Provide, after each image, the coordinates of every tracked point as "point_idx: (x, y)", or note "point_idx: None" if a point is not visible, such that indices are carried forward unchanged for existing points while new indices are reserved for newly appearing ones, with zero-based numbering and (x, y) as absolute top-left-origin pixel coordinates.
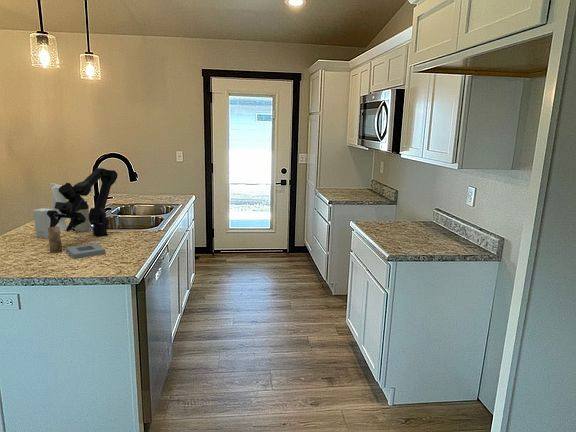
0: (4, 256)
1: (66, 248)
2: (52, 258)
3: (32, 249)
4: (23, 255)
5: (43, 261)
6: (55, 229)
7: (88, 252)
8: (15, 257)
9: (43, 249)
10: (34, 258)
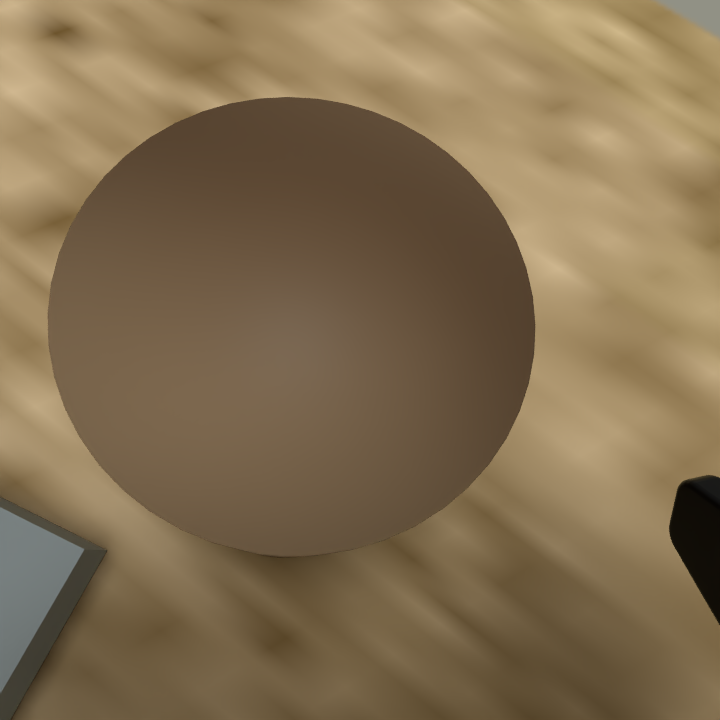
0: (668, 8)
1: (63, 536)
2: (11, 183)
3: (714, 367)
4: (520, 119)
5: (15, 42)
6: (85, 221)
7: None
8: (518, 27)
9: (581, 449)
10: (259, 86)
